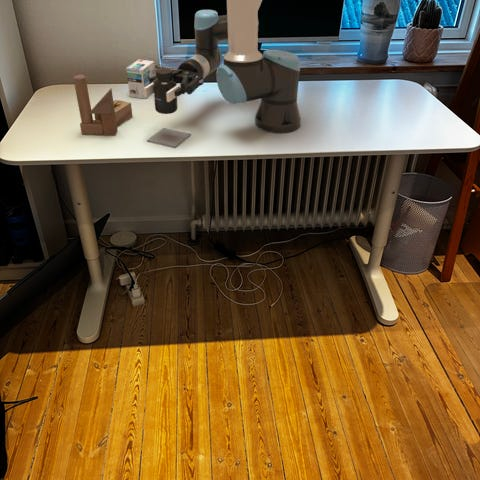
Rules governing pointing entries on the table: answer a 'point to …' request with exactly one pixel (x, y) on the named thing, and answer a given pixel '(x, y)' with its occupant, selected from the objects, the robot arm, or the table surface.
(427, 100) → the table surface
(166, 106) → the supplement bottle
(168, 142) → the felt pad
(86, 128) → the wooden block
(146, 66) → the light bulb box
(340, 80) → the table surface
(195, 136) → the table surface
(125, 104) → the plane block
